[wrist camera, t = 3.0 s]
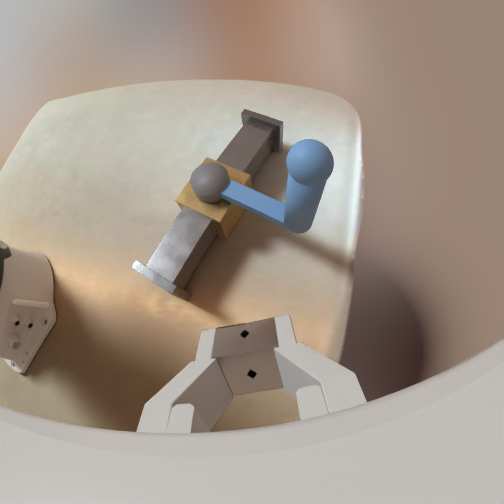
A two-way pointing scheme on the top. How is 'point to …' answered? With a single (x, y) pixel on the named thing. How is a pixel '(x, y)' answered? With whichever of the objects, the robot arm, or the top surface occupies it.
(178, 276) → the valve pipe
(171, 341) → the top surface
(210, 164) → the lever
